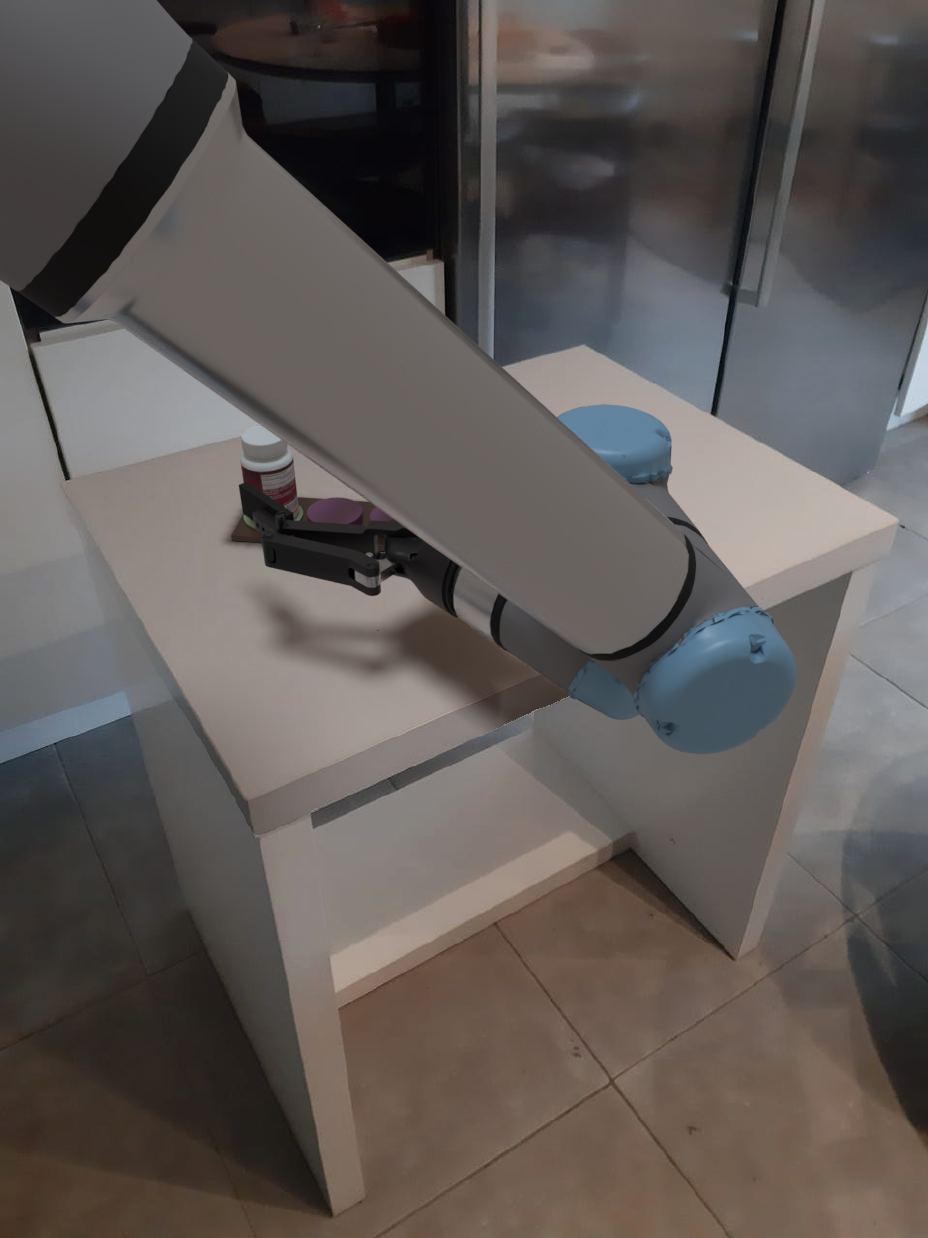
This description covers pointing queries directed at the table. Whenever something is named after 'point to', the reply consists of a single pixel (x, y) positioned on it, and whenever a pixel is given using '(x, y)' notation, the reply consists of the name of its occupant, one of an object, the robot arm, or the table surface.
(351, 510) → the board
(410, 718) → the table surface
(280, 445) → the pill bottle
